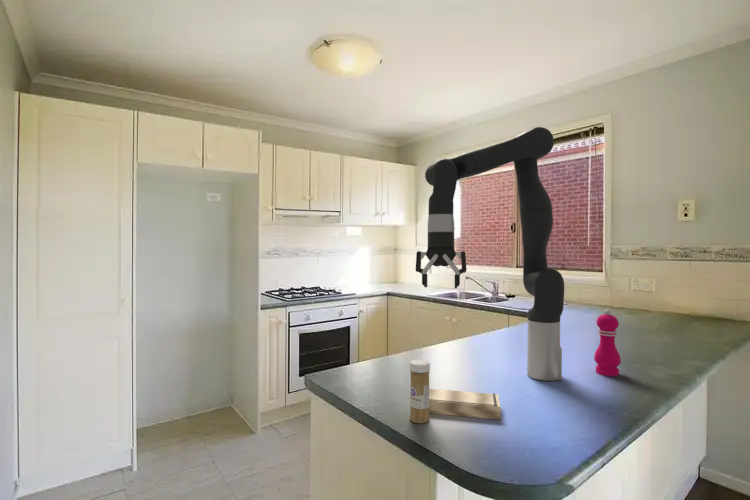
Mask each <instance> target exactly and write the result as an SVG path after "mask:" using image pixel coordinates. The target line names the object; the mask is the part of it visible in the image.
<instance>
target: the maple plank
mask: <svg viewBox="0 0 750 500" xmlns="http://www.w3.org/2000/svg"><path fill="white" fill-rule="evenodd" d="M499 397H500V396H499V393H485V392H474V391H460V390H451V389H449V390H447V389H437V388H429V414H435V415H446V416H456V417H464V418H465V417H467V418H468V417H469V418H477V419H478V418H479V419H485V420H486V419H487V420H499V421H500V420H501V404H500V398H499Z"/></svg>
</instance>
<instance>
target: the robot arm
mask: <svg viewBox="0 0 750 500" xmlns="http://www.w3.org/2000/svg"><path fill="white" fill-rule="evenodd" d="M554 144H555V138H554V135H553V134H552V132H551V131H550V130H549V129H547V128H545V127H542V126H536V127H532V128H529V129H528V130H526V131H524V132H521V133H519V134H518V135H516V136H515V137H514V138H512V139H511V138H510V139H509V140H505V141H502V142H499V143H496V144H491V145H488V146H484V147H481V148H478V149H477V148H476V149H474V150H470V151H467V152H464V153H461V154H459V155H457V156H456V157H453V158H440V159H439V160H437V161H435V162H433V163H431V164H430V165H429V166H427V168H426V170H425V173H424V175H425V176H424V178H425V181H426V182H427V183H428V184H429V185H430V186H431V187H433V188H432V194H431V195H430V196H429V199H428V216H427V250H426V251H420V250H417V251H416V256H415V258H416V259H415V272H417V273H420V274H421V285H422V286H423V287H424V288H428V274H427V273H428V272H429V270H430V269H431V268H432V266H434V267H448V266H449V267H450V268H451V270H452V271H453V272H454V273H455V274H454V289H458V287H459V286H460V284H461V278H460V277H461V275H462V274H464V273H465V274H466V272H467V257H466V256H467V255H466V252H465V251H464V250H463V251H456V250H455V229H456V227H455V219H454V197H455V193H456V190H457V189H456V188H457V182H458V180H462V179H466V178H470V177H475V176H477V175H481V174H483V173H486V172H489V171H492V170H494V169H497V168H500V167H501V166H504V165H507V164H509V163H513V166H514V169H515V174H516V175H515V176H516V182H517V191H518V192H517V194H518V200H519V216H520V217H519V219H520V227H521V236H522V237H521V238H522V247H523V248H522V251H523V265H522V266H523V272H522V274H523V276H522V283H523V286H524V289H525V291H526V292H527V293H528V294H529V295H531V296H533V297H534V298H533V299H534V300H533V306H532V308H530V309H528V310H527V353H526V354H527V355H526V357H527V361H526V362H527V363H526V365H527V367H526V370H527V373H526V375H527V376H528V377H530V378H532V379H535V380H538V381H539V380H540V381H546V382H554V381H562V380H563V378H562V377H563V365H562V364H563V349H562V347H561V316H562V314H563V312H564V302H565V281H564V277H563V275H562V273H560V272H559V271H558V270H557V269H555V268H549V267H548V260H547V247H548V243H549V240H550V237H551V235H552V230H553V227H554V226H553V225H554V215H553V208H552V207H553V205H552V201H551V198H550V196H549V194H548V192H547V190H546V188H545V187H544V185H543V183H542V181H541V179H540V176H539V169H538V168H539V167H538V160H539V159H541V158H544V157H546V156H548V155H549V153H551V151H552V150H553V148H554V146H555V145H554ZM456 256H457V257H458V260H460V262H461V268H458V267H457V265H456V264H455V263H454V262H453V260H454V259H455V258H456ZM425 257H426V258H427V259H428V260H429V261H428V263H427V264H426V265H425V266H424V268H422V260H423V259H424V258H425Z"/></svg>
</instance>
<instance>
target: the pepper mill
mask: <svg viewBox="0 0 750 500" xmlns="http://www.w3.org/2000/svg"><path fill="white" fill-rule="evenodd" d="M611 313H612V312H611V310H610V309H605V310H604V314H601V315H599V316H598V317H597V318H596V325H597V327H598V328H599V329H598V335H599V338H600V339H599V345H598V347H597V349H596V350H595V352H594V356H593V360H594V362H595V363H596V366H595V372H596V373H597V374H598V375H601V376H606V377H618V376H619V375H620V368H618V367H619V366H620V365H621V363H622V361H621V360H622V359H621V355H620V353H619V352H618V349H617V346H616V340H615V338H616V336H617V335H618V334H617V329H618V327H620V326H619V325H620V324H619V320H618V318H617V317H616V316H615V315H612V314H611Z"/></svg>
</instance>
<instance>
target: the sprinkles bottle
mask: <svg viewBox="0 0 750 500" xmlns="http://www.w3.org/2000/svg"><path fill="white" fill-rule="evenodd" d="M409 370H410V371H409V372H410V391H409V396H410V397H409V398H410V399H409V402H410V404H409V405H410V410H409V411H410V413H409V414H410V416H409V420H410V421H411V422H412V423H416V424H426V423H428V422H429V421H430V413H429V389H430V371H431V363H430V361H428V360H425V359H413V360H411V361H410V362H409Z"/></svg>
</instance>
